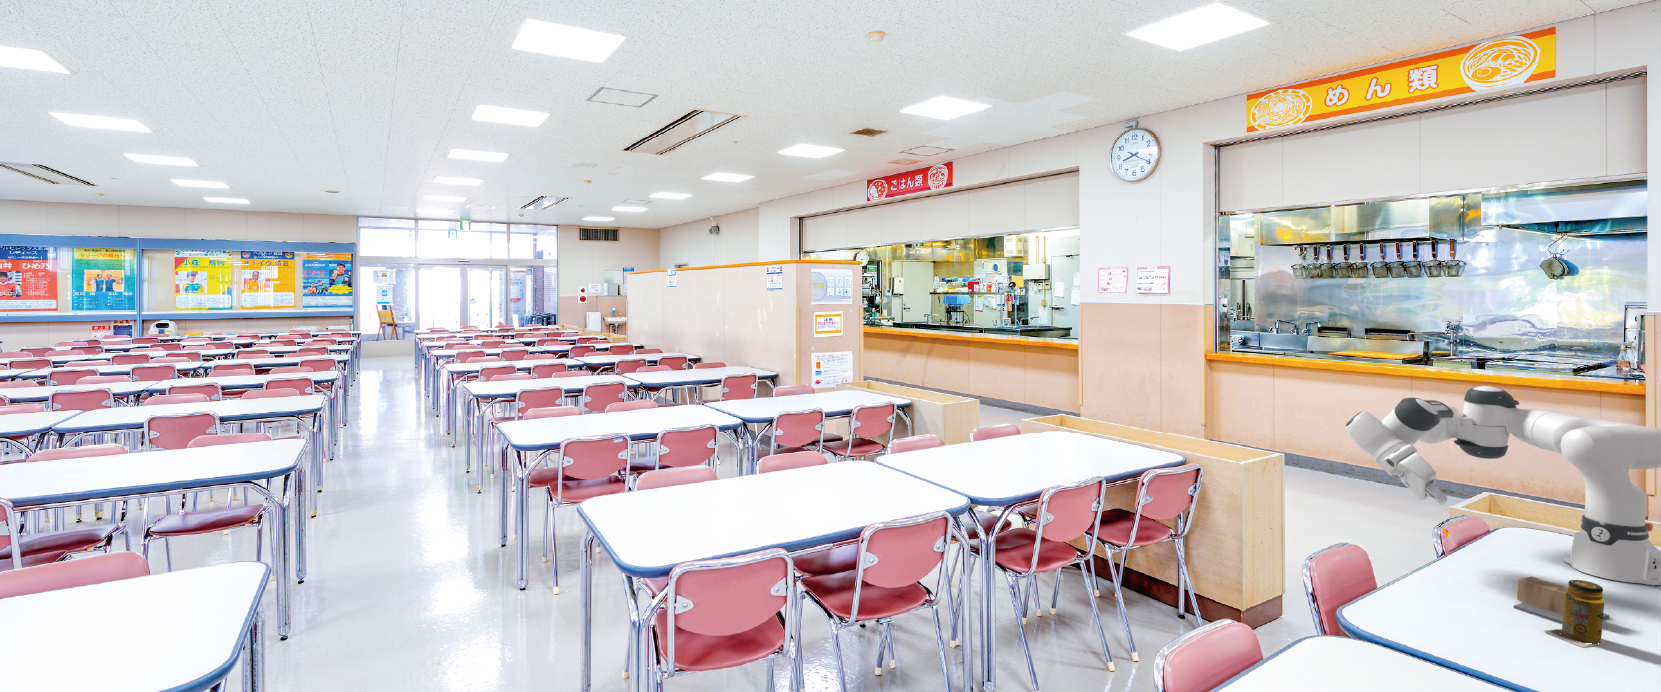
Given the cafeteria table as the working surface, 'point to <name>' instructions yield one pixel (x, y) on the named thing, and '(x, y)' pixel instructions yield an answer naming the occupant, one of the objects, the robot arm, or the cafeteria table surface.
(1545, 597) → the block
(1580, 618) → the condiment
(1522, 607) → the mat
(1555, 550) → the cafeteria table surface
